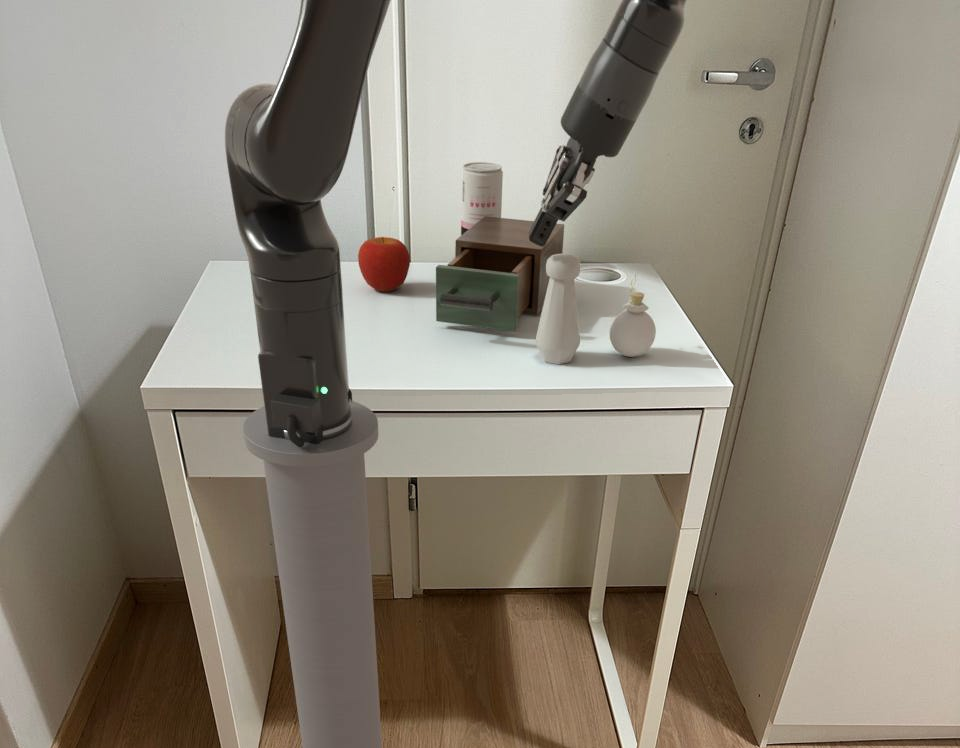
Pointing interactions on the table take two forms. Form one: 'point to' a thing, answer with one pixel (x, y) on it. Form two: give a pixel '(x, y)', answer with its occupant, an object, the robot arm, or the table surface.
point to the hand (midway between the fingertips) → (535, 241)
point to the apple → (384, 263)
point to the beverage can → (480, 193)
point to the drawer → (484, 288)
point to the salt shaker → (559, 311)
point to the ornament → (633, 327)
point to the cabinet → (515, 248)
